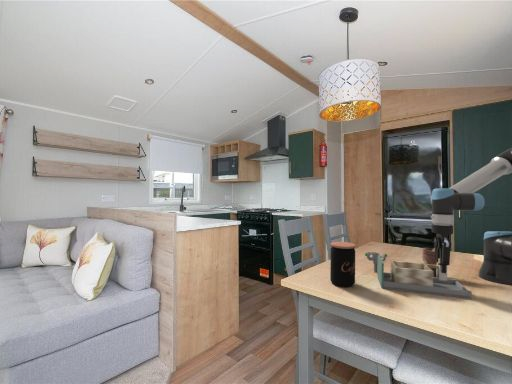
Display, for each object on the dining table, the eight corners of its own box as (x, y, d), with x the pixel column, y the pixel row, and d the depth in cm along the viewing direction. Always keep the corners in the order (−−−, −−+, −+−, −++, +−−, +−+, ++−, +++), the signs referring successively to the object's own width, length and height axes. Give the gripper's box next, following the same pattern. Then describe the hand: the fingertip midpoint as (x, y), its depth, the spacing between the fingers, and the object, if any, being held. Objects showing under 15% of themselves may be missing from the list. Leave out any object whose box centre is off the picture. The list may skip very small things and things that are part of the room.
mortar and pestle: (429, 270, 136) (429, 233, 136) (448, 275, 129) (448, 235, 128) (419, 275, 129) (419, 235, 129) (439, 280, 122) (439, 238, 122)
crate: (440, 282, 116) (440, 256, 116) (450, 292, 104) (450, 263, 104) (390, 277, 122) (390, 252, 122) (395, 286, 111) (395, 258, 111)
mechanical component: (387, 273, 131) (387, 254, 130) (365, 272, 133) (365, 253, 133) (385, 272, 133) (385, 252, 133) (364, 270, 136) (364, 251, 135)
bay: (456, 285, 115) (456, 261, 115) (471, 298, 101) (471, 271, 101) (377, 277, 125) (377, 255, 125) (381, 288, 111) (381, 263, 111)
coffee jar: (342, 289, 109) (343, 247, 109) (325, 281, 119) (325, 242, 119) (360, 285, 114) (360, 245, 114) (342, 278, 124) (342, 240, 124)
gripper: (426, 221, 119) (426, 272, 119) (437, 226, 104) (437, 284, 104) (446, 222, 116) (445, 274, 116) (460, 227, 102) (459, 286, 102)
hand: (441, 278), depth 110 cm, fingers closed on crate, 2 cm apart
